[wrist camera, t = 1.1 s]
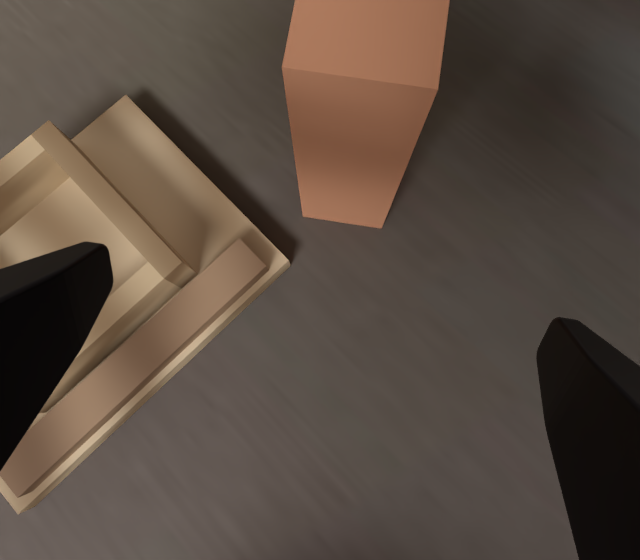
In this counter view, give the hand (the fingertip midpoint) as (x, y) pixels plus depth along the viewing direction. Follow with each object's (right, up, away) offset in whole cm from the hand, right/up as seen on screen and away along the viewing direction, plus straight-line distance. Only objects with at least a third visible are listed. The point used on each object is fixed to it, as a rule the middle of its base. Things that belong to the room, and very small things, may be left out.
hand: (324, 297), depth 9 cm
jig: (-11, 0, +14) cm, 18 cm away
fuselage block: (+1, +5, +15) cm, 16 cm away
